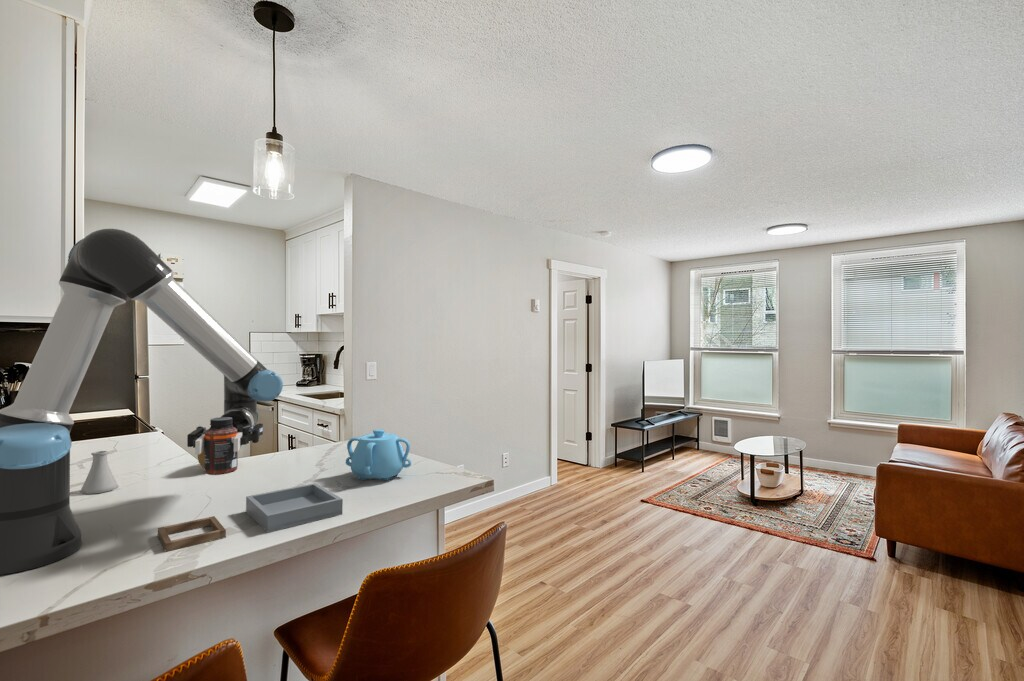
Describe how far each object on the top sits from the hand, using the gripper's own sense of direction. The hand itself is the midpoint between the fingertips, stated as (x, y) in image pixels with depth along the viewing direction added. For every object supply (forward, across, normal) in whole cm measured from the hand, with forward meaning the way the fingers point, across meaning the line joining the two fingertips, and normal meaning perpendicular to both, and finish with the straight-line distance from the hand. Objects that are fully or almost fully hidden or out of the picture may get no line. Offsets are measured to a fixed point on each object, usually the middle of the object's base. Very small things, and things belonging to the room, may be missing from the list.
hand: (216, 446), depth 97 cm
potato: (-59, +9, -19) cm, 63 cm away
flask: (-45, +34, -19) cm, 59 cm away
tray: (-10, -14, -19) cm, 25 cm away
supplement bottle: (-5, 0, -7) cm, 8 cm away
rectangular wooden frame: (-3, +5, -19) cm, 19 cm away
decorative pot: (-35, -36, -19) cm, 53 cm away
